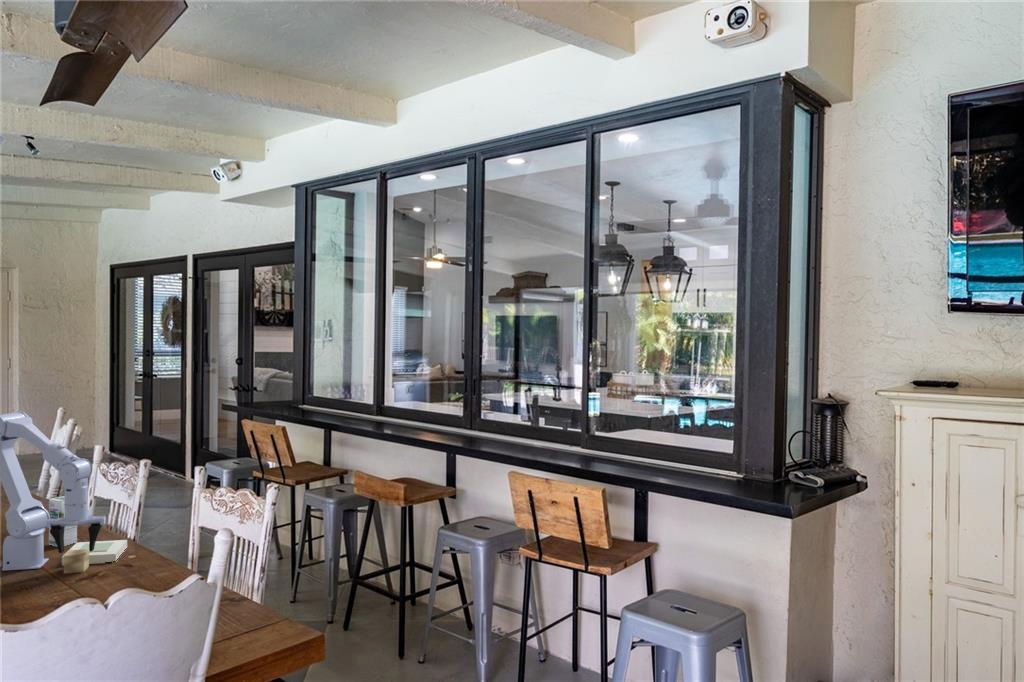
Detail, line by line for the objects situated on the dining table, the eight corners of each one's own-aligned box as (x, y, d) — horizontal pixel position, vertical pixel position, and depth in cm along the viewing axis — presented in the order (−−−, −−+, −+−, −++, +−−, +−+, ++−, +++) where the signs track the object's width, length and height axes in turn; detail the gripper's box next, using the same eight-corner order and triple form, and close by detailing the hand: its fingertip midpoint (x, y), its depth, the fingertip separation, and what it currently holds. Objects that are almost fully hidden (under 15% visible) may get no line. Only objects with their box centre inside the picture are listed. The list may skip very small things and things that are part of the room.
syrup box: (47, 545, 235) (47, 499, 234) (65, 540, 240) (65, 495, 240) (60, 548, 233) (60, 501, 232) (78, 542, 238) (78, 496, 237)
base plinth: (61, 565, 217) (61, 555, 216) (76, 550, 230) (76, 541, 230) (115, 562, 220) (115, 552, 220) (127, 547, 234) (127, 538, 234)
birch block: (63, 573, 210) (63, 555, 210) (69, 567, 215) (69, 550, 215) (83, 572, 212) (83, 554, 212) (88, 566, 217) (88, 549, 216)
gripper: (42, 508, 207) (42, 557, 208) (100, 505, 211) (101, 553, 211) (51, 501, 214) (51, 549, 214) (107, 499, 218) (108, 546, 218)
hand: (76, 551), depth 213 cm, fingers open, 7 cm apart
